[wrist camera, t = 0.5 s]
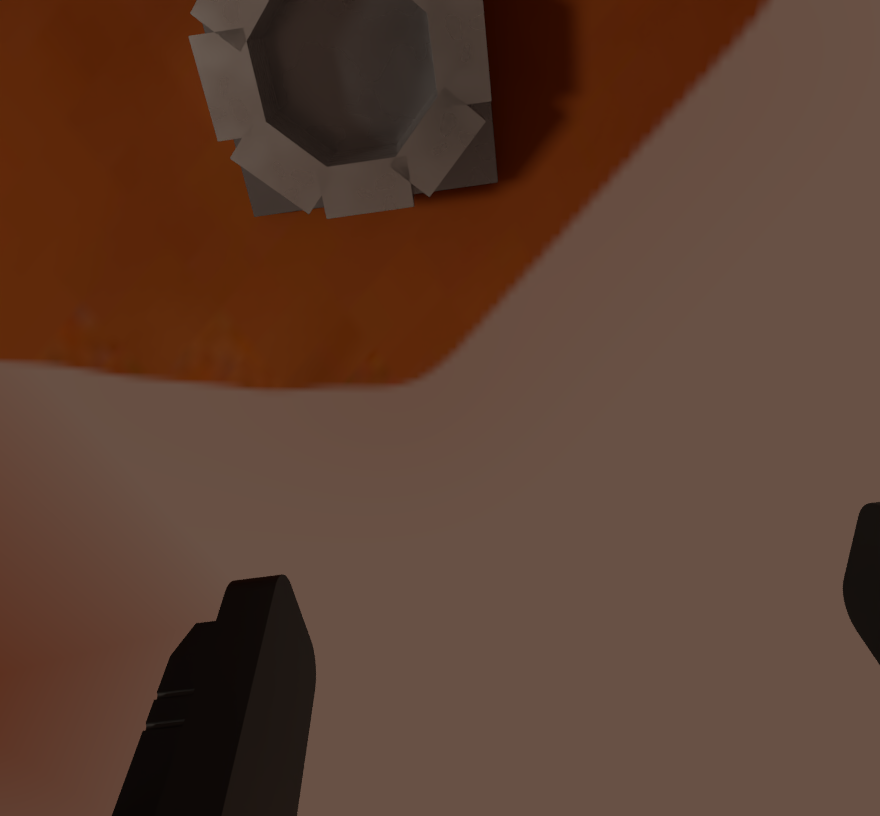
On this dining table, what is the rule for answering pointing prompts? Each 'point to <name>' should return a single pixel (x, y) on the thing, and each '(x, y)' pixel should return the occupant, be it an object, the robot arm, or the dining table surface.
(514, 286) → the dining table surface
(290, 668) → the robot arm
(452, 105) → the rosette collar
